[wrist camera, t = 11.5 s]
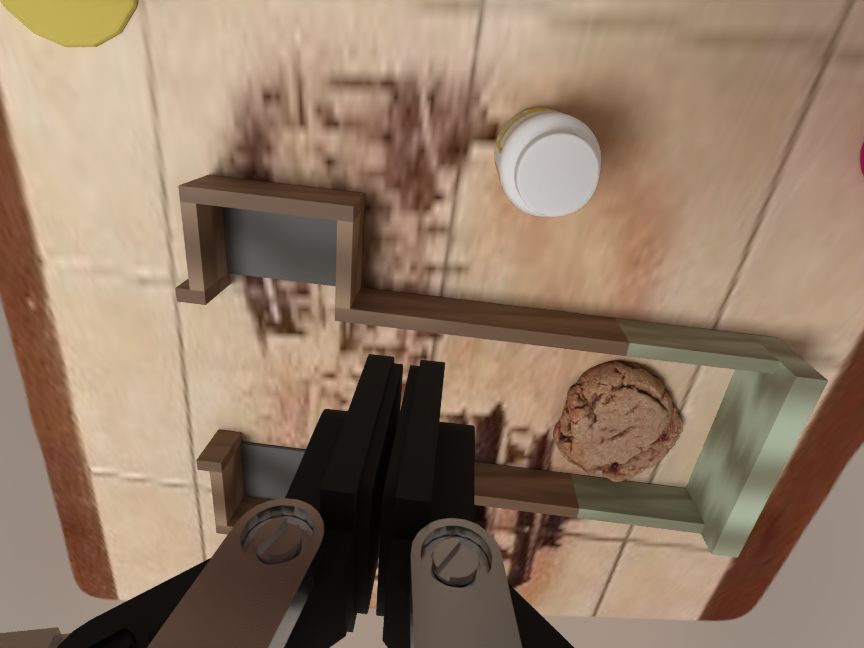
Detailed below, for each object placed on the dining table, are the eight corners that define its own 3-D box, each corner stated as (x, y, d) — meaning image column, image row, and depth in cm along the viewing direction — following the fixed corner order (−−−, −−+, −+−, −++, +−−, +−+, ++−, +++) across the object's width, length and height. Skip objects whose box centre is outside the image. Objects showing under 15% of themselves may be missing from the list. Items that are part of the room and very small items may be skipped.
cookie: (661, 343, 39) (675, 363, 37) (684, 450, 43) (698, 474, 41) (534, 378, 41) (538, 399, 39) (567, 477, 45) (573, 502, 43)
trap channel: (193, 173, 36) (144, 190, 30) (817, 246, 35) (881, 277, 30) (224, 498, 49) (194, 550, 43) (680, 556, 48) (707, 616, 43)
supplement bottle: (570, 195, 35) (604, 235, 26) (490, 190, 35) (496, 227, 26) (584, 108, 32) (626, 120, 24) (498, 104, 33) (508, 113, 24)
